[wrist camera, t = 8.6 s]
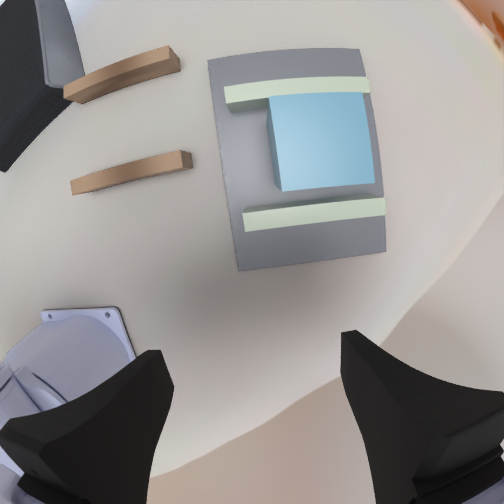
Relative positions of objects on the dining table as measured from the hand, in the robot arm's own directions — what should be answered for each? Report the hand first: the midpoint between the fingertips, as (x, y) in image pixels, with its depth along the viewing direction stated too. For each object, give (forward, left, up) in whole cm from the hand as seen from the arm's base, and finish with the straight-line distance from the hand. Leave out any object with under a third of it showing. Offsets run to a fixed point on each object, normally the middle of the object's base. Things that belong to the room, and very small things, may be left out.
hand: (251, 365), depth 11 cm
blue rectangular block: (+4, +8, -9) cm, 12 cm away
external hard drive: (-19, +23, -10) cm, 32 cm away
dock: (+4, +8, -9) cm, 13 cm away
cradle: (-7, +12, -9) cm, 17 cm away
